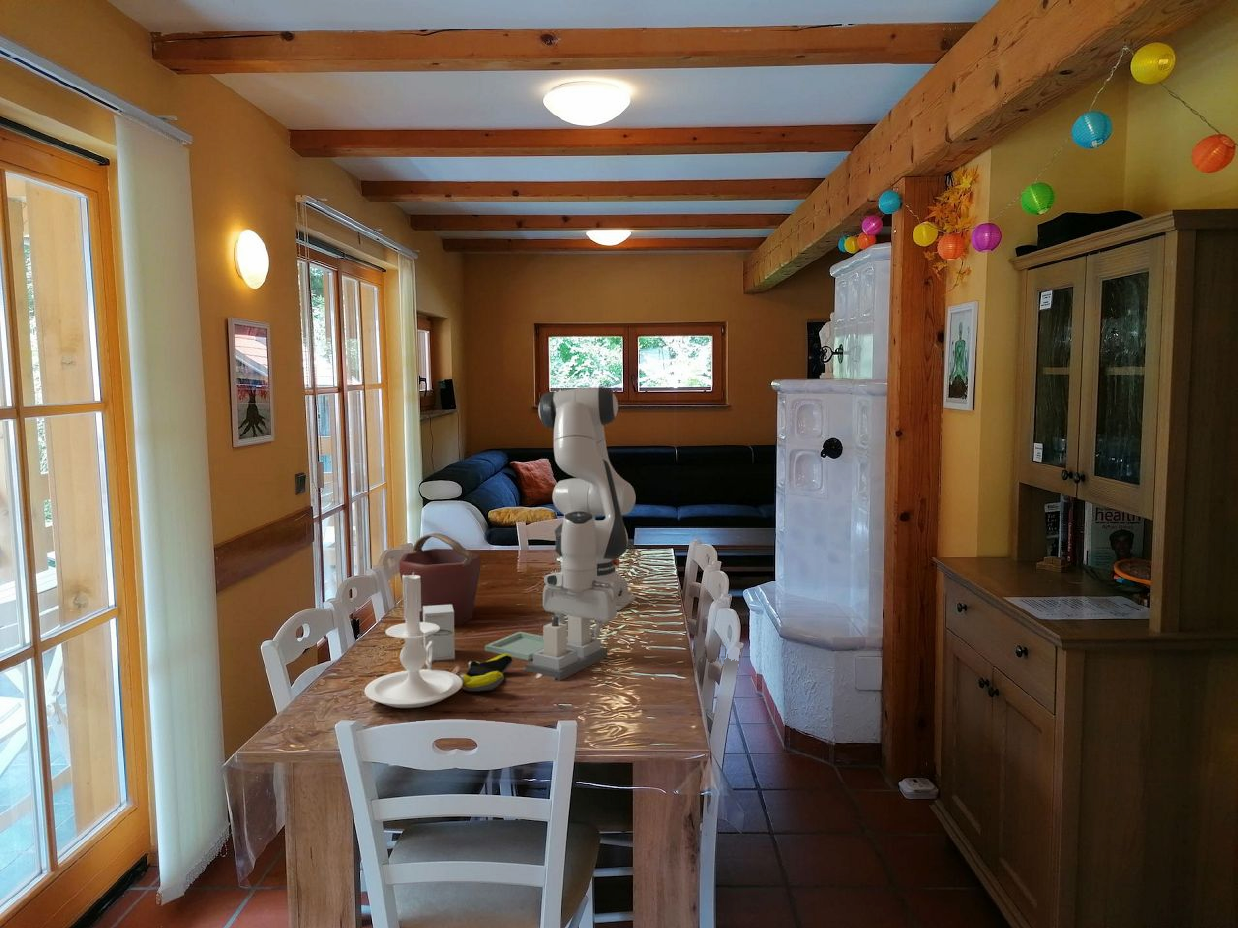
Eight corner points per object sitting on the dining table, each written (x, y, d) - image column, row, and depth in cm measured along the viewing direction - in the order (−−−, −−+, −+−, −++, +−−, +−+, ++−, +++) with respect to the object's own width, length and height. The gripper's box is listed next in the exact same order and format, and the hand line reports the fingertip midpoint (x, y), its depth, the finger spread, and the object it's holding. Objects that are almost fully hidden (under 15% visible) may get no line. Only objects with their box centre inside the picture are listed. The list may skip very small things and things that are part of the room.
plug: (577, 647, 210) (577, 604, 209) (590, 649, 208) (590, 606, 207) (568, 651, 207) (567, 608, 206) (581, 654, 205) (581, 610, 204)
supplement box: (424, 663, 204) (423, 613, 203) (423, 654, 211) (422, 605, 210) (455, 661, 206) (454, 610, 205) (453, 651, 213) (452, 603, 212)
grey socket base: (574, 649, 215) (574, 599, 213) (607, 656, 209) (607, 605, 208) (525, 672, 198) (525, 619, 196) (559, 680, 192) (559, 625, 191)
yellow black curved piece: (514, 674, 197) (472, 673, 198) (513, 651, 197) (471, 650, 197) (502, 698, 182) (456, 697, 183) (501, 674, 182) (456, 673, 182)
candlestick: (476, 676, 195) (474, 558, 192) (449, 719, 171) (446, 585, 168) (389, 675, 196) (385, 557, 193) (350, 718, 172) (345, 584, 169)
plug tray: (519, 638, 224) (519, 631, 224) (562, 646, 217) (562, 640, 216) (484, 652, 212) (484, 645, 212) (528, 662, 205) (528, 655, 205)
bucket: (491, 625, 236) (490, 537, 233) (415, 637, 224) (412, 546, 222) (460, 605, 257) (458, 524, 254) (388, 615, 245) (386, 531, 243)
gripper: (621, 581, 203) (621, 637, 204) (553, 571, 214) (554, 623, 215) (607, 587, 197) (607, 644, 199) (538, 576, 208) (539, 630, 210)
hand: (579, 633), depth 207 cm, fingers open, 8 cm apart
